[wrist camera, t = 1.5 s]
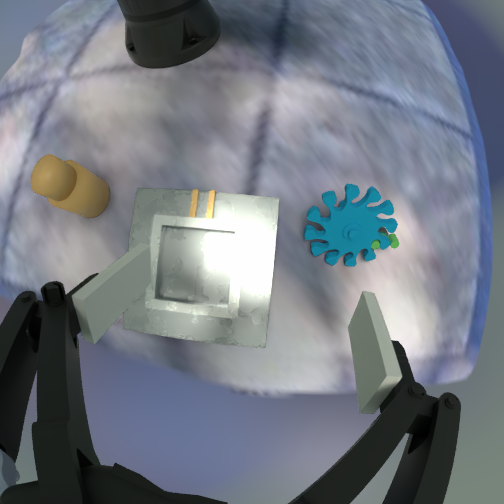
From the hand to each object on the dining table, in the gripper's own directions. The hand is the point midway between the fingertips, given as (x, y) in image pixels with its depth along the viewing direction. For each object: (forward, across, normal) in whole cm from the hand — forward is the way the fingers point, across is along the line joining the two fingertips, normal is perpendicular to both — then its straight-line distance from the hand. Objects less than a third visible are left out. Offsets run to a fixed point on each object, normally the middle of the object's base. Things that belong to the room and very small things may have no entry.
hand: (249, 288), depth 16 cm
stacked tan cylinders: (+12, -23, -1) cm, 26 cm away
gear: (+17, +8, -1) cm, 19 cm away
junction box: (+12, -7, -6) cm, 15 cm away
